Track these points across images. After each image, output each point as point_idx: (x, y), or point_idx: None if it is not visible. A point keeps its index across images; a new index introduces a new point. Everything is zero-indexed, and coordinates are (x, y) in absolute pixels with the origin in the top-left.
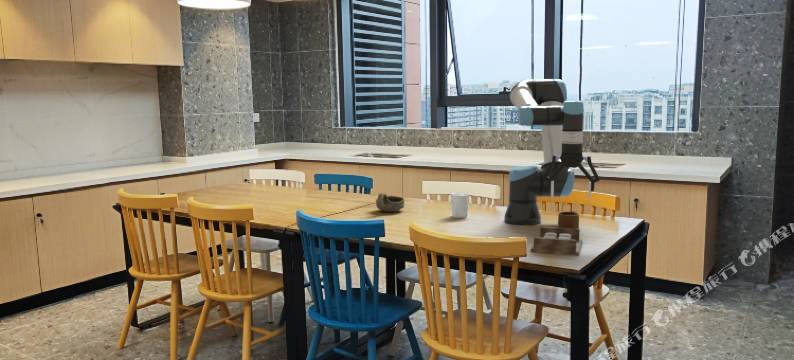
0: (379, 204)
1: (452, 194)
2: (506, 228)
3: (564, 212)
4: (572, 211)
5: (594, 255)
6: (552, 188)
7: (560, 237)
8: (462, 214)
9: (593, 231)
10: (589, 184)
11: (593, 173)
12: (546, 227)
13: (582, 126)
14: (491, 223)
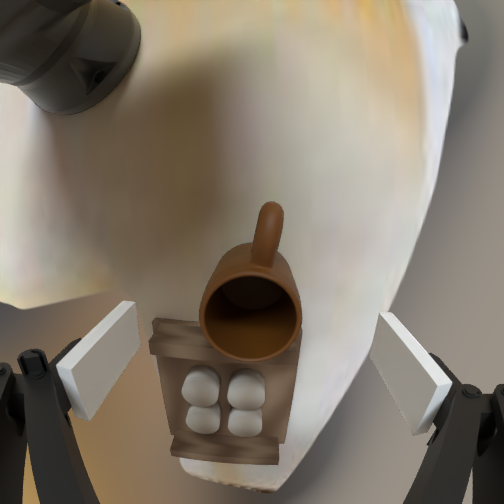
0: None
1: None
2: (46, 183)
3: (225, 281)
4: (268, 242)
5: (320, 430)
6: (109, 387)
7: (234, 423)
8: None
9: (348, 142)
10: (413, 426)
11: (477, 482)
12: (172, 354)
13: None
14: (12, 131)
